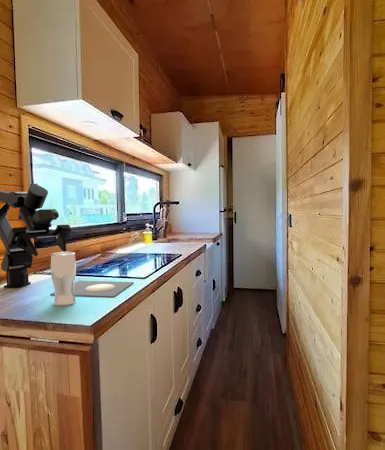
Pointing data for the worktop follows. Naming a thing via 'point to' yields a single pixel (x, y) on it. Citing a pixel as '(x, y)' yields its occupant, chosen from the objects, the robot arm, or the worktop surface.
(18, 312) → the worktop surface
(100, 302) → the worktop surface
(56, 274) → the beer glass
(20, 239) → the robot arm
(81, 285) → the slate mat
